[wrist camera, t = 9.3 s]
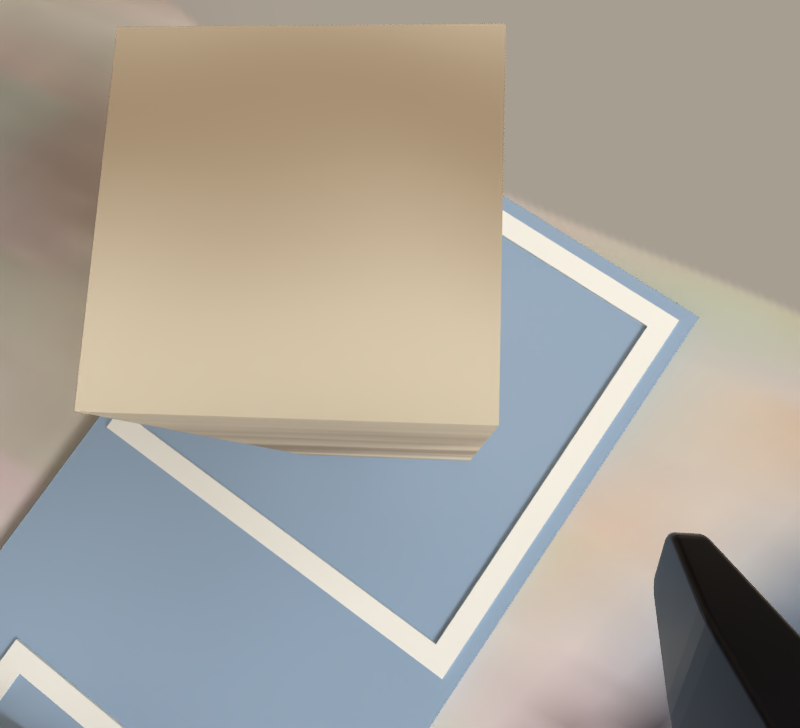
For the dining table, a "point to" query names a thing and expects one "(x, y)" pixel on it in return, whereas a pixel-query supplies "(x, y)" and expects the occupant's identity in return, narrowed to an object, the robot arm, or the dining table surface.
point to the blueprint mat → (323, 536)
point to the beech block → (302, 238)
